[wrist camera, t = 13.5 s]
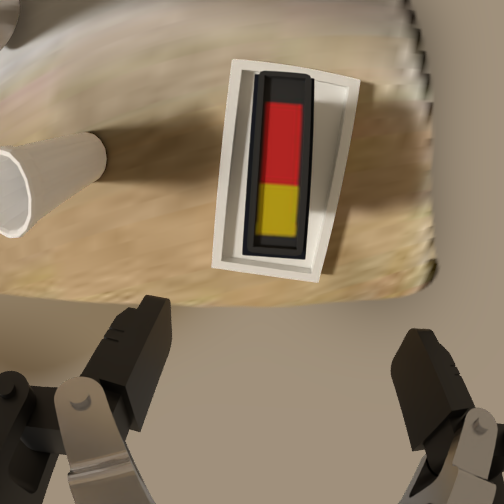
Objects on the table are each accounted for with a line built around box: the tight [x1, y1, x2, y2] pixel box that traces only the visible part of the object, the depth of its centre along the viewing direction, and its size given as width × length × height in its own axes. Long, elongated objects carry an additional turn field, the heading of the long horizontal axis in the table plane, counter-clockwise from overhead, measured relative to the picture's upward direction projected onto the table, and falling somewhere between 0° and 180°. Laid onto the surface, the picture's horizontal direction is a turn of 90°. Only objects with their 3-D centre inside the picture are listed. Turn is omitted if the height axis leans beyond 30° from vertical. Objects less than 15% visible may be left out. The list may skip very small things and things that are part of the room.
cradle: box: [212, 59, 361, 283], centre depth 30 cm, size 22×12×2 cm, turn 173°
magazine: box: [242, 71, 315, 260], centre depth 24 cm, size 4×13×15 cm, turn 178°
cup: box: [0, 132, 107, 238], centre depth 25 cm, size 8×8×14 cm
